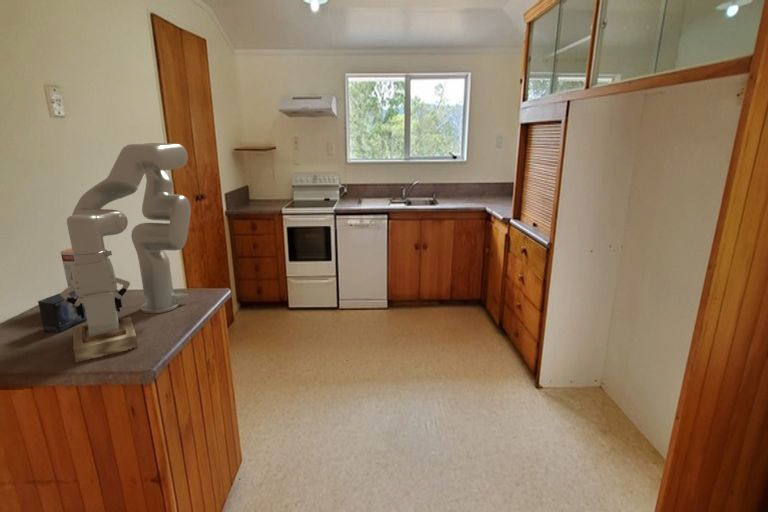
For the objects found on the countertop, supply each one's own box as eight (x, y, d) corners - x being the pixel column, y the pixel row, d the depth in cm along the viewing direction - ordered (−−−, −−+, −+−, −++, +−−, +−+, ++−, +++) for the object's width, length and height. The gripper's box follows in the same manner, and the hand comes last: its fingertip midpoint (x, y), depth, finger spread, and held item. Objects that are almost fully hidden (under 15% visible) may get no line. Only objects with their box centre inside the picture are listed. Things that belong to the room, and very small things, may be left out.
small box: (59, 333, 131) (53, 303, 128) (43, 331, 132) (35, 301, 129) (89, 320, 141) (83, 291, 138) (73, 318, 142) (67, 289, 139)
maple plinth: (132, 327, 135) (129, 313, 134) (138, 347, 123) (135, 331, 121) (76, 339, 127) (72, 324, 125) (76, 362, 114) (72, 345, 113)
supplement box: (119, 333, 123) (113, 293, 120) (89, 338, 119) (81, 297, 116) (119, 324, 129) (113, 286, 126) (91, 329, 125) (83, 290, 122)
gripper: (124, 250, 125) (133, 303, 130) (52, 258, 115) (64, 316, 120) (127, 255, 119) (136, 311, 124) (51, 265, 110) (64, 325, 114)
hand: (101, 313), depth 122 cm, fingers open, 8 cm apart
